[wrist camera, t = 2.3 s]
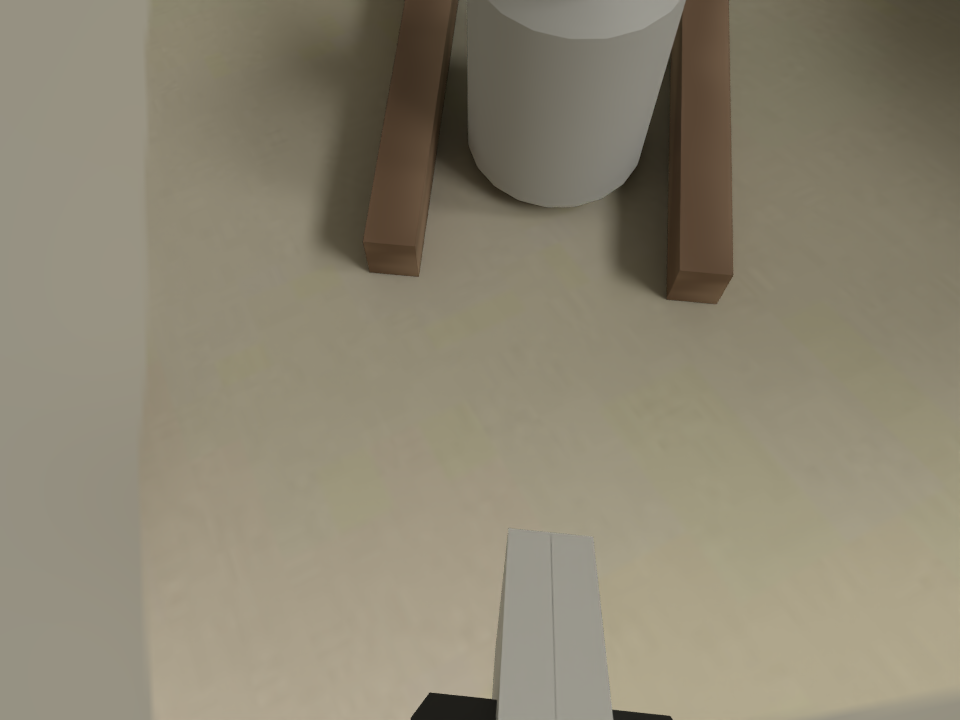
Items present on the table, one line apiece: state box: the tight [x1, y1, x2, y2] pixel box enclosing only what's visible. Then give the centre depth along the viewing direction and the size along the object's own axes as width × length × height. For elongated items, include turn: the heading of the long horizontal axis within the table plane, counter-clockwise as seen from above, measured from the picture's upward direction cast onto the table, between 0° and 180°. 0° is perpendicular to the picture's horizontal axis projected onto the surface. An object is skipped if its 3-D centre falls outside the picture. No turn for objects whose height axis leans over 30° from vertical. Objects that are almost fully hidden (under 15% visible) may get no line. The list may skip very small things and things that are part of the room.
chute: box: [363, 0, 733, 304], centre depth 37 cm, size 14×16×2 cm
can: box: [467, 0, 686, 207], centre depth 32 cm, size 8×8×12 cm
